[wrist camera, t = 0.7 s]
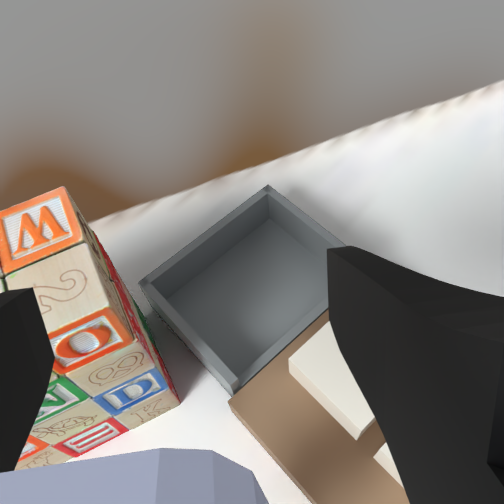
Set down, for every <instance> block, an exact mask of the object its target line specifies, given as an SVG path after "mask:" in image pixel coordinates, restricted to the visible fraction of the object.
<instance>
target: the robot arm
mask: <svg viewBox="0 0 504 504" xmlns="http://www.w3.org/2000/svg"><path fill="white" fill-rule="evenodd" d="M327 278H328V310H329V321H330V324H331V327H332V330H333V333H334V336H335V339H336V342H337V344H338V347H339V350H340V352H341V354H342V356H343V358H344V360H345V362H346V364H347V365H348V367H349V369H350V371H351V373H352V375H353V377H354V379H355V381H356V383H357V384H358V386H359V388H360V390H361V392H362V394H363V396H364V398H365V400H366V401H367V403H368V405H369V407H370V409H371V411H372V413H373V415H374V416H375V418H376V420H377V423H378V425H379V427H380V429H381V431H382V433H383V435H384V438H385V440H386V443H387V445H388V448H389V450H390V453H391V456H392V458H393V461H394V463H395V466H396V468H397V471H398V473H399V476H400V479H401V481H402V484H403V487H404V489H405V492H406V495H407V498H408V500H409V503H410V504H504V297H500V296H495V295H491V294H486V293H482V292H478V291H474V290H470V289H467V288H463V287H459V286H455V285H452V284H449V283H445V282H442V281H439V280H437V279H434V278H431V277H428V276H425V275H423V274H420V273H417V272H415V271H412V270H410V269H407V268H405V267H402V266H400V265H397V264H395V263H393V262H390V261H388V260H386V259H384V258H381V257H379V256H377V255H374V254H372V253H370V252H367V251H365V250H362V249H360V248H357V247H354V246H345V247H337V248H329V249H327ZM54 360H55V356H54V352H53V349H52V346H51V343H50V340H49V337H48V334H47V330H46V327H45V324H44V321H43V318H42V315H41V311H40V308H39V305H38V302H37V299H36V296H35V292H34V289H33V287H31V288H23V289H15V290H8V291H5V292H2V293H0V504H269V503H268V501H267V499H266V497H265V495H264V493H263V491H262V489H261V487H260V486H259V484H258V482H257V480H256V478H255V476H254V474H253V472H252V471H251V470H249V469H247V468H245V467H243V466H241V465H239V464H237V463H235V462H233V461H231V460H230V459H228V458H226V457H224V456H222V455H220V454H218V453H216V452H214V451H212V450H197V449H173V448H159V449H152V450H146V451H139V452H133V453H126V454H120V455H113V456H107V457H100V458H94V459H87V460H81V461H74V462H68V463H61V464H55V465H48V466H42V467H35V468H29V469H22V470H16V471H14V470H15V467H16V465H17V462H18V460H19V458H20V455H21V453H22V451H23V448H24V446H25V444H26V441H27V439H28V437H29V434H30V432H31V430H32V427H33V425H34V422H35V420H36V418H37V415H38V413H39V410H40V408H41V405H42V403H43V401H44V398H45V395H46V393H47V389H48V385H49V382H50V378H51V374H52V369H53V365H54Z"/></svg>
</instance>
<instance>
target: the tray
mask: <svg viewBox="0 0 504 504" xmlns="http://www.w3.org/2000/svg"><path fill="white" fill-rule="evenodd" d="M345 246H346V245H345V244H344V243H342V242H341V241H340V240H338V239H337V238H336V237H335V236H333V235H332V234H331V233H329V232H328V231H327V230H326V229H324V228H323V227H322V226H321V225H319V224H318V223H317V222H315V221H314V220H313V219H312V218H310V217H309V216H308V215H306V214H305V213H304V212H303V211H301V210H300V209H299V208H298V207H296V206H295V205H294V204H292V203H291V202H290V201H289V200H287V199H286V198H285V197H283V196H282V195H281V194H280V193H278V192H277V191H276V190H274V189H273V188H272V187H271V186H269V185H267V186H265V187H264V188H263V189H261V190H260V191H259V192H257V193H256V194H255V195H253V196H252V197H251V198H249V199H248V200H247V201H245V202H244V203H243V204H241V205H240V206H239V207H237V208H236V209H235V210H233V211H232V212H231V213H230V214H228V215H227V216H226V217H224V218H223V219H222V220H220V221H219V222H218V223H216V224H215V225H214V226H212V227H211V228H210V229H208V230H207V231H206V232H204V233H203V234H202V235H200V236H199V237H198V238H196V239H195V240H194V241H192V242H191V243H190V244H188V245H187V246H186V247H184V248H183V249H182V250H181V251H179V252H178V253H177V254H175V255H174V256H173V257H171V258H170V259H169V260H167V261H166V262H165V263H163V264H162V265H161V266H159V267H158V268H157V269H155V270H154V271H153V272H151V273H150V274H149V275H147V276H146V277H145V278H143V279H142V280H141V281H139V282H138V284H139V285H140V287H141V289H142V291H143V292H144V294H145V296H146V298H147V299H148V301H149V303H150V304H151V306H152V307H153V308H154V310H155V311H156V312H157V313H158V314H159V315H160V316H161V318H162V319H163V320H164V321H165V322H166V323H167V324H168V325H169V327H170V328H171V329H172V330H173V331H174V332H175V333H176V334H177V336H178V337H179V338H180V339H181V340H182V341H183V342H184V343H185V345H186V346H187V347H188V348H189V349H190V350H191V351H192V353H193V354H194V355H195V356H196V357H197V358H198V359H199V360H200V362H201V363H202V364H203V365H204V366H205V367H206V368H207V369H208V371H209V372H210V373H211V374H212V375H213V376H214V377H215V378H216V380H217V381H218V382H219V383H220V384H221V385H222V386H223V387H224V389H225V390H226V391H227V392H228V393H229V394H230V395H231V397H233V396H234V395H235V394H236V393H237V392H238V391H239V390H241V389H242V388H243V387H244V386H245V385H246V384H247V383H248V382H249V381H250V380H251V379H253V378H254V377H255V376H256V375H257V374H258V373H259V372H260V371H261V370H262V369H263V368H265V367H266V366H267V365H268V364H269V363H270V362H271V361H272V360H273V359H274V358H275V357H277V356H278V355H279V354H280V353H281V352H282V351H283V350H284V349H285V348H286V347H287V346H289V345H290V344H291V343H292V342H293V341H294V340H295V339H296V338H297V337H298V336H299V335H301V334H302V333H303V332H304V331H305V330H306V329H307V328H308V327H309V326H310V325H311V324H313V323H314V322H315V321H316V320H317V319H318V318H319V317H320V316H321V315H322V314H323V313H325V312H326V311H327V310H328V278H327V249H329V248H337V247H345Z"/></svg>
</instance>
